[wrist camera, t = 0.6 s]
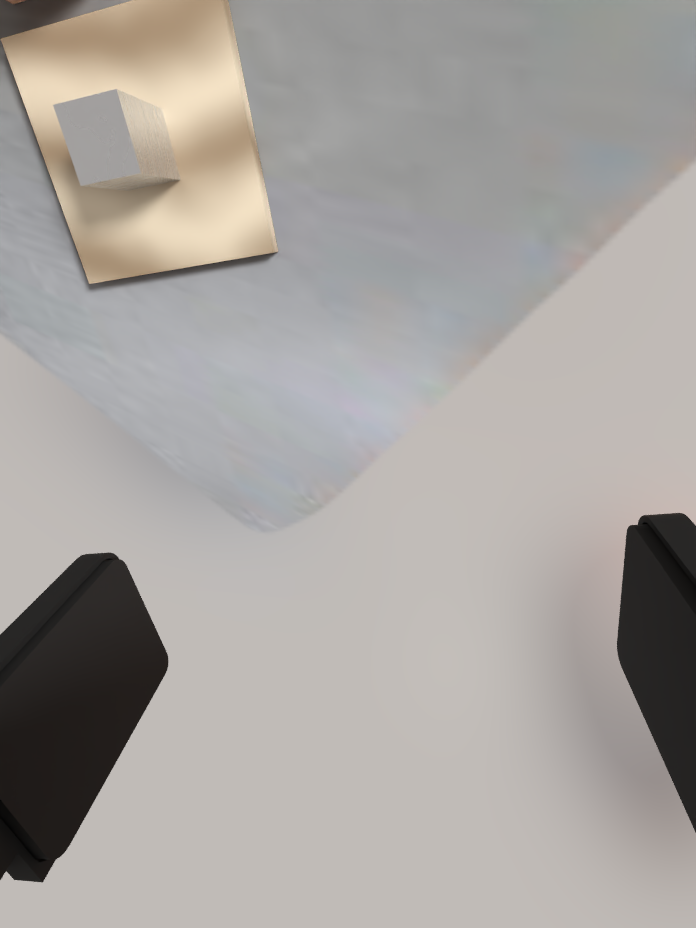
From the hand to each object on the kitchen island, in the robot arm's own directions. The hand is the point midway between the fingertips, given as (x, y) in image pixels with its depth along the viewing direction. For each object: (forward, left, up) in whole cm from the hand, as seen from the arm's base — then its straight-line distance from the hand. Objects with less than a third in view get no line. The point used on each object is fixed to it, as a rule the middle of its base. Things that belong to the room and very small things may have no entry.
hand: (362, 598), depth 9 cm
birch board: (-13, -15, -29) cm, 35 cm away
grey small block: (-13, -15, -27) cm, 34 cm away
